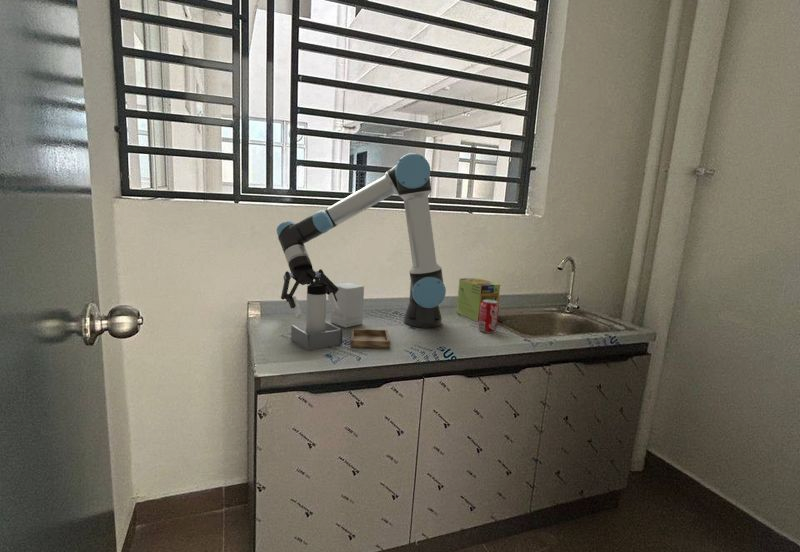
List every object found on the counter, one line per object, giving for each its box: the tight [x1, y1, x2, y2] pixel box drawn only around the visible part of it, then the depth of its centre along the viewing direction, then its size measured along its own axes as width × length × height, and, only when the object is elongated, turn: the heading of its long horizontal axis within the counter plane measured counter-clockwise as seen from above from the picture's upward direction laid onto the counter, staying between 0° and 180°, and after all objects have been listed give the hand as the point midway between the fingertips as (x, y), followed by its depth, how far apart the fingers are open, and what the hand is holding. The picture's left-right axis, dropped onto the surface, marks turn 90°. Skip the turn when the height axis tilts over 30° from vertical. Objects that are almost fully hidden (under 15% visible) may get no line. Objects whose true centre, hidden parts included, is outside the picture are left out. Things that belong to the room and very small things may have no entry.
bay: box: [290, 321, 343, 351], centre depth 147 cm, size 12×13×5 cm
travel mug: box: [305, 283, 328, 334], centre depth 146 cm, size 6×7×20 cm
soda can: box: [478, 299, 500, 334], centre depth 170 cm, size 7×7×12 cm
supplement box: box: [330, 282, 365, 328], centre depth 169 cm, size 9×9×15 cm
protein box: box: [456, 277, 501, 323], centre depth 191 cm, size 10×15×16 cm
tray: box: [350, 328, 391, 350], centre depth 150 cm, size 13×13×2 cm
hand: (318, 313), depth 145 cm, fingers open, 13 cm apart
